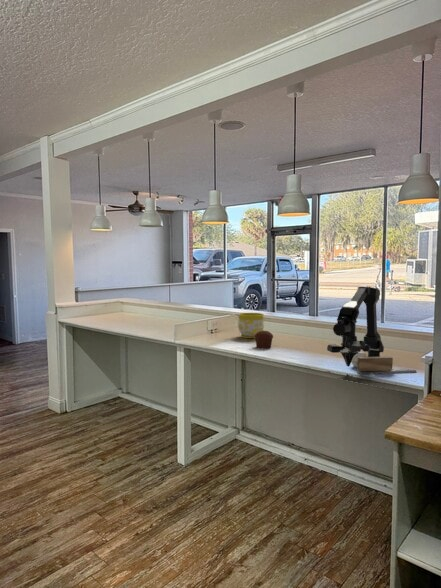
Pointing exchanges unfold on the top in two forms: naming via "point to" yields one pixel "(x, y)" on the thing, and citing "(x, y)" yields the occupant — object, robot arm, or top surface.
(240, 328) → the flowerpot
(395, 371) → the rail
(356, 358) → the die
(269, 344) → the muffin
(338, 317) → the robot arm
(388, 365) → the wooden block
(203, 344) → the top surface
